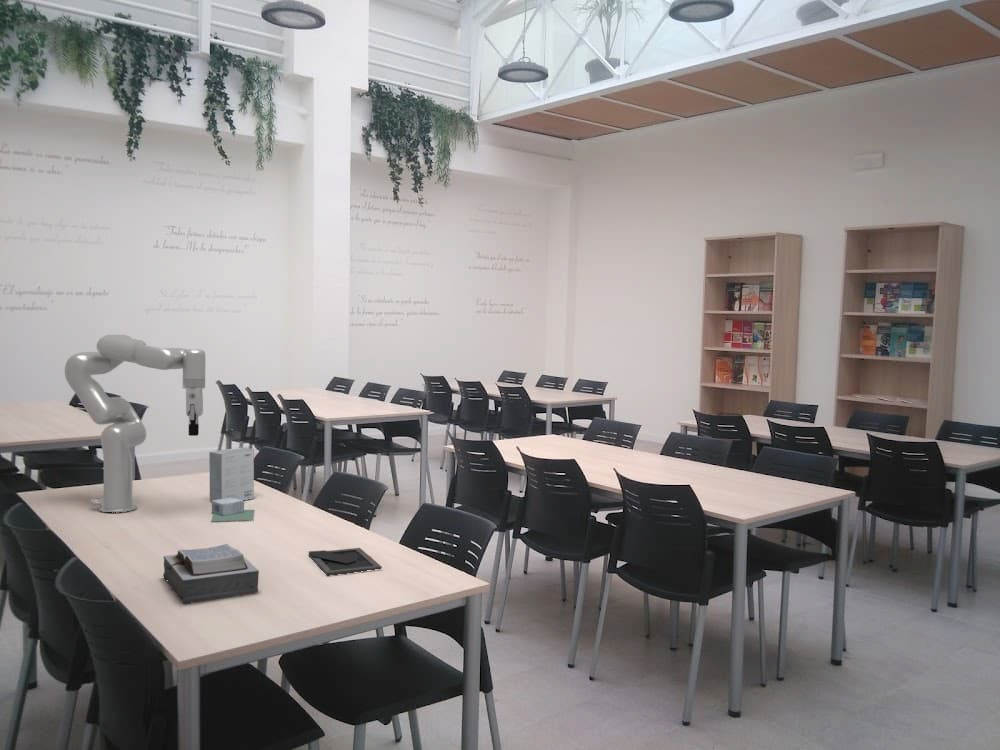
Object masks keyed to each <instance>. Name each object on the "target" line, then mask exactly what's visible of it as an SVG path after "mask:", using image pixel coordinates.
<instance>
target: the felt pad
mask: <svg viewBox="0 0 1000 750" xmlns="http://www.w3.org/2000/svg"><path fill="white" fill-rule="evenodd" d="M254 515H255V509H244V512H241V513H236V514H230V515H225V516H222V515H219V514H216V513H214V512H213V515H212V517H211V520H210V523H229V522H230V523H232V522H231V521H238V522H252V521H251V520H253V521H254V518H253V517H254ZM249 520H250V521H249Z"/></svg>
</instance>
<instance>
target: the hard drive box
mask: <svg viewBox="0 0 1000 750" xmlns="http://www.w3.org/2000/svg"><path fill="white" fill-rule="evenodd" d="M208 456H209V459H208V460H209V461H208V464H209V465H208V466H209V503H210V502H211V504H212V500H217V499H224V498H231V497H233V498H236V499H239V500H245V501H249V500H253V498H254V499H255V482H254V481H255V470H254V469H255V461H254V460H255V450H254V449H253V448H248V447H236V448H229V449H228V448H226V449H222V450H215V451H209V455H208ZM248 499H249V500H248Z"/></svg>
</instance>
